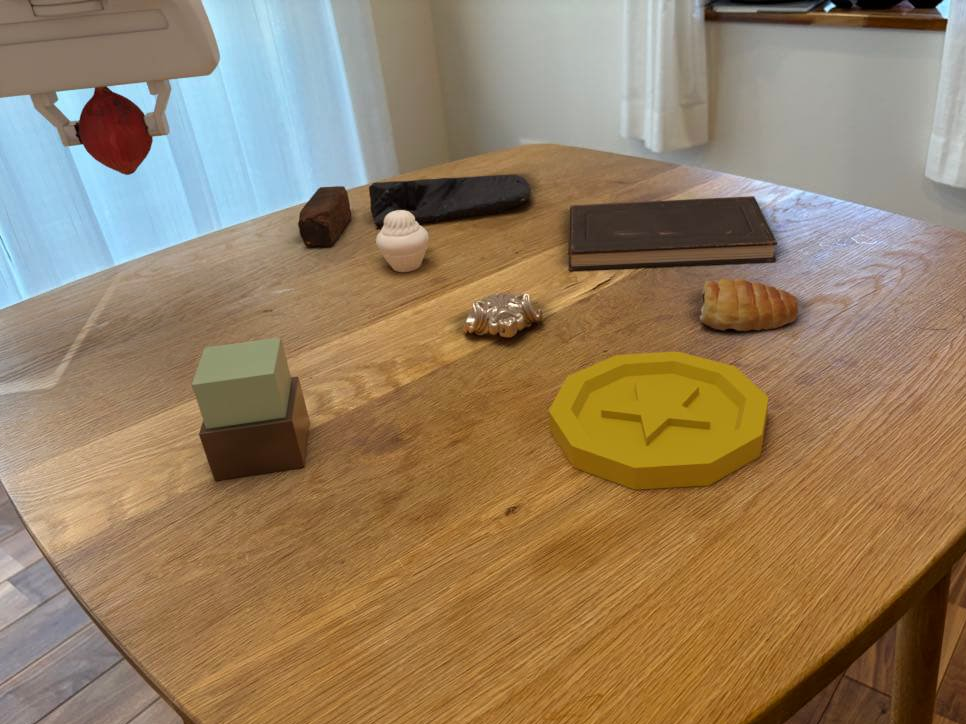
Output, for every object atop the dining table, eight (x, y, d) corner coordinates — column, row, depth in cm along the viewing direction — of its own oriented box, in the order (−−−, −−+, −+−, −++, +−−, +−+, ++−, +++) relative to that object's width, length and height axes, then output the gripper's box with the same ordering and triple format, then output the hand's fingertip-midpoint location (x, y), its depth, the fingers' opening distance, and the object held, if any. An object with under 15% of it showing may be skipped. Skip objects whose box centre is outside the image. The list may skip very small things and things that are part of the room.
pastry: (792, 303, 87) (796, 268, 84) (801, 335, 81) (805, 298, 79) (698, 304, 88) (699, 269, 86) (700, 335, 82) (701, 299, 80)
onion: (175, 170, 77) (147, 77, 73) (113, 188, 74) (80, 92, 70) (145, 161, 81) (117, 71, 76) (84, 178, 77) (51, 85, 73)
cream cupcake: (419, 279, 98) (410, 220, 94) (371, 275, 100) (360, 218, 96) (441, 258, 103) (433, 201, 99) (395, 255, 105) (386, 199, 101)
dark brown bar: (324, 219, 118) (317, 186, 115) (353, 218, 117) (346, 184, 115) (302, 249, 109) (294, 214, 106) (333, 248, 108) (325, 212, 106)
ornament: (470, 354, 82) (466, 320, 80) (459, 323, 88) (455, 291, 86) (551, 340, 83) (549, 306, 81) (535, 311, 89) (533, 278, 87)
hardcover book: (775, 261, 95) (777, 242, 94) (568, 271, 97) (567, 251, 96) (752, 212, 109) (753, 194, 108) (571, 221, 111) (570, 203, 109)
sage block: (206, 429, 66) (191, 384, 63) (217, 390, 71) (204, 347, 68) (285, 417, 66) (273, 373, 64) (291, 379, 71) (280, 336, 69)
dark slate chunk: (533, 218, 112) (530, 182, 110) (365, 231, 113) (359, 196, 110) (529, 181, 125) (527, 149, 123) (379, 193, 126) (374, 161, 123)
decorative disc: (511, 422, 72) (508, 402, 71) (666, 352, 80) (666, 332, 79) (647, 520, 60) (647, 498, 59) (812, 426, 68) (815, 405, 67)
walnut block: (214, 481, 67) (198, 434, 65) (226, 432, 73) (212, 387, 71) (304, 467, 68) (292, 420, 66) (309, 420, 74) (298, 375, 72)
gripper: (-97, -20, 64) (-20, 163, 72) (184, -46, 67) (230, 134, 74) (-62, -28, 70) (6, 144, 77) (197, -51, 72) (239, 117, 79)
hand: (118, 139), depth 76 cm, fingers closed on onion, 6 cm apart
